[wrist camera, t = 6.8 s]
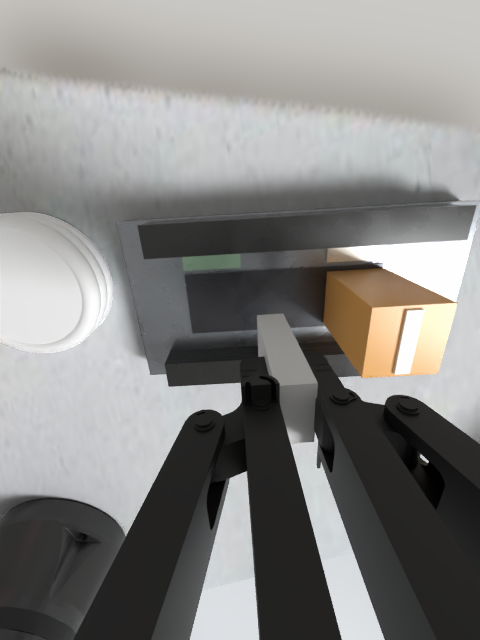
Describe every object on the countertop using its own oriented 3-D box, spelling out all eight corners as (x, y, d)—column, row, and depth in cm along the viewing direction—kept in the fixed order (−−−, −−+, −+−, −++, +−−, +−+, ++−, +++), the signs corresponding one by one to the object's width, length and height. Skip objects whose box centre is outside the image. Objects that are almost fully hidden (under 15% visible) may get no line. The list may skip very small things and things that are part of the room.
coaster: (-20, 310, 23) (-62, 328, 20) (-13, 187, 19) (-63, 185, 16) (102, 350, 25) (81, 373, 21) (129, 244, 21) (110, 253, 18)
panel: (156, 361, 25) (143, 390, 21) (127, 220, 20) (103, 225, 16) (424, 346, 25) (457, 372, 21) (460, 200, 20) (511, 201, 16)
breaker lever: (323, 323, 21) (363, 379, 14) (327, 271, 19) (373, 309, 13) (375, 320, 21) (439, 375, 14) (384, 267, 19) (460, 303, 13)
